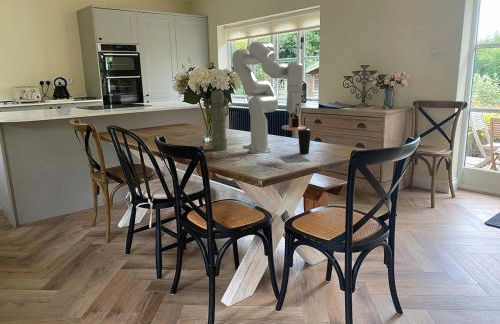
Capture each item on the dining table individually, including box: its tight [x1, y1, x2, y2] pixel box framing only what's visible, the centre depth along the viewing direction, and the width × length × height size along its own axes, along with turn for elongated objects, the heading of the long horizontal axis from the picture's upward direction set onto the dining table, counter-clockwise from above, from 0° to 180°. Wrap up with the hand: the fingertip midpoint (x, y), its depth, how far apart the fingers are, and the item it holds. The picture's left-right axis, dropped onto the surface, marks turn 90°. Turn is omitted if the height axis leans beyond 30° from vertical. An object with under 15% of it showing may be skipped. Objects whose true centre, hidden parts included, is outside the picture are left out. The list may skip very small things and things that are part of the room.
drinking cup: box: [296, 117, 312, 155], centre depth 206 cm, size 8×8×20 cm
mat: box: [279, 155, 312, 164], centre depth 194 cm, size 13×13×1 cm
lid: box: [281, 116, 306, 131], centre depth 190 cm, size 12×12×6 cm
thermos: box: [207, 89, 229, 152], centre depth 223 cm, size 9×12×35 cm
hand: (293, 125), depth 190 cm, fingers closed on lid, 4 cm apart
